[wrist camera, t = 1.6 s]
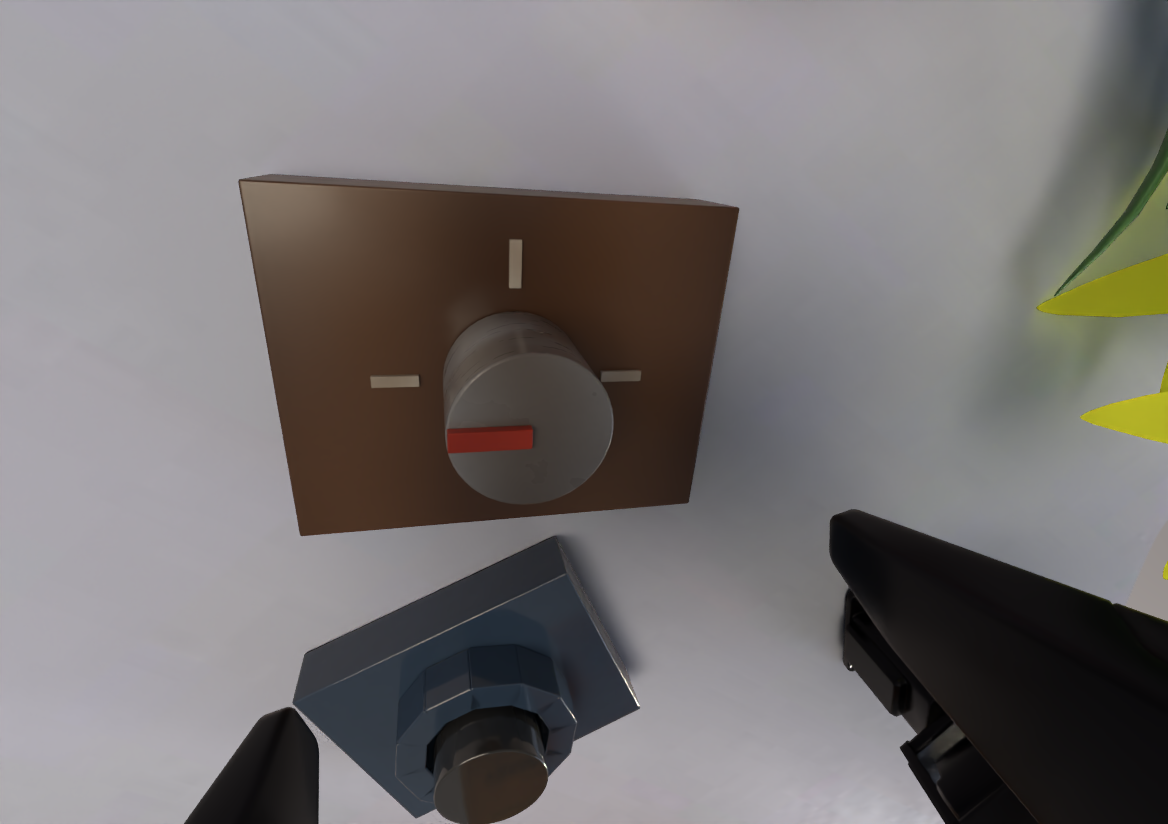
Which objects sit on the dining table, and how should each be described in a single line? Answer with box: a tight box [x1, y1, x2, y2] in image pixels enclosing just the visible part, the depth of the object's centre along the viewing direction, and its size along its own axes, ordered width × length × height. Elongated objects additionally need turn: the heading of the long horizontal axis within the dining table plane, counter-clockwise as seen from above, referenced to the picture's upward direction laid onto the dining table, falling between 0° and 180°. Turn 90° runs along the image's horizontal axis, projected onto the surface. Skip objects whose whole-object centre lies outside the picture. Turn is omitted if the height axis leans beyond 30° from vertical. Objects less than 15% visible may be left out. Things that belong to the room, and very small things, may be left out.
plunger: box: [433, 706, 548, 824], centre depth 22 cm, size 4×4×2 cm
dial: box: [443, 311, 614, 505], centre depth 16 cm, size 4×4×4 cm
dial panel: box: [238, 174, 739, 536], centre depth 19 cm, size 14×11×3 cm
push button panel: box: [293, 536, 640, 818], centre depth 25 cm, size 12×10×4 cm
